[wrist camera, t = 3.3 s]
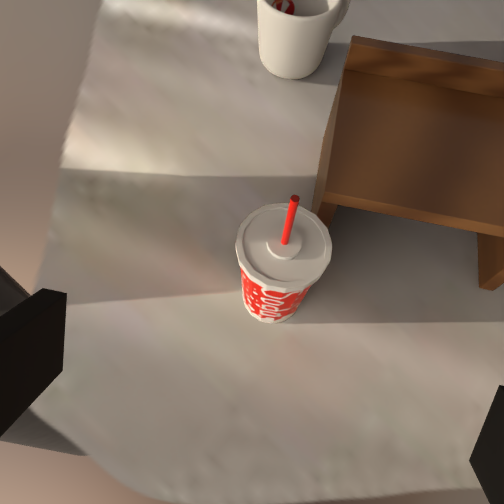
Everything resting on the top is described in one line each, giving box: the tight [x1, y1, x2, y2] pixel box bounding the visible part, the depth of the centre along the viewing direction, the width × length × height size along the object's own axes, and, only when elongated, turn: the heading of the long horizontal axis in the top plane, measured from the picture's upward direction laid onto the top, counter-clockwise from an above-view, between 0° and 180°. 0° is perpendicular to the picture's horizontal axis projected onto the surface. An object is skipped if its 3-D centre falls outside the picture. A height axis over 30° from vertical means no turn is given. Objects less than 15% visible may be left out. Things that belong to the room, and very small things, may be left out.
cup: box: [257, 0, 350, 79], centre depth 46 cm, size 11×8×8 cm
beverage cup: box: [235, 195, 332, 324], centre depth 30 cm, size 6×6×14 cm
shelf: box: [311, 35, 504, 291], centre depth 36 cm, size 16×13×11 cm
